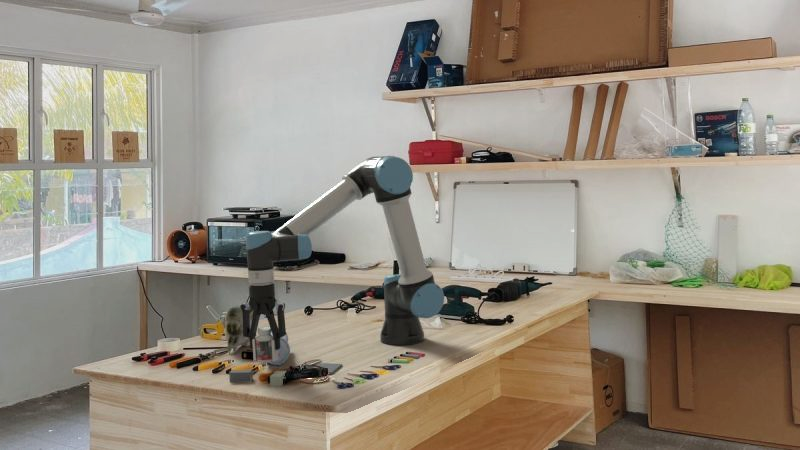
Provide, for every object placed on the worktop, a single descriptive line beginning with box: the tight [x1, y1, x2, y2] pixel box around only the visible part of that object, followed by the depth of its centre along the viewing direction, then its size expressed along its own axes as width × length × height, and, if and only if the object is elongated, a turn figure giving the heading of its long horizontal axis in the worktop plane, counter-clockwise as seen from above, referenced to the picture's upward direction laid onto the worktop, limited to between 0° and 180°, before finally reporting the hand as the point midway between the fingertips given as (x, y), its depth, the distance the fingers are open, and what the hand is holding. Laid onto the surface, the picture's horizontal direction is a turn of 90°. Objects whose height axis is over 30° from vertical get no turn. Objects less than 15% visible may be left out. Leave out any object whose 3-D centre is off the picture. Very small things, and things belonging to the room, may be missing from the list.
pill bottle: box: [255, 326, 273, 363], centre depth 243 cm, size 5×5×10 cm
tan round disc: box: [300, 374, 330, 384], centre depth 233 cm, size 8×8×1 cm
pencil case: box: [267, 325, 291, 366], centre depth 259 cm, size 21×9×10 cm, turn 10°
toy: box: [224, 304, 253, 355], centre depth 276 cm, size 8×15×20 cm
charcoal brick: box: [228, 369, 254, 383], centre depth 234 cm, size 6×3×3 cm, turn 86°
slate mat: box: [318, 362, 343, 375], centre depth 244 cm, size 10×10×1 cm
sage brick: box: [269, 370, 288, 387], centre depth 230 cm, size 6×3×3 cm, turn 171°
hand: (265, 359), depth 243 cm, fingers closed on pill bottle, 5 cm apart
